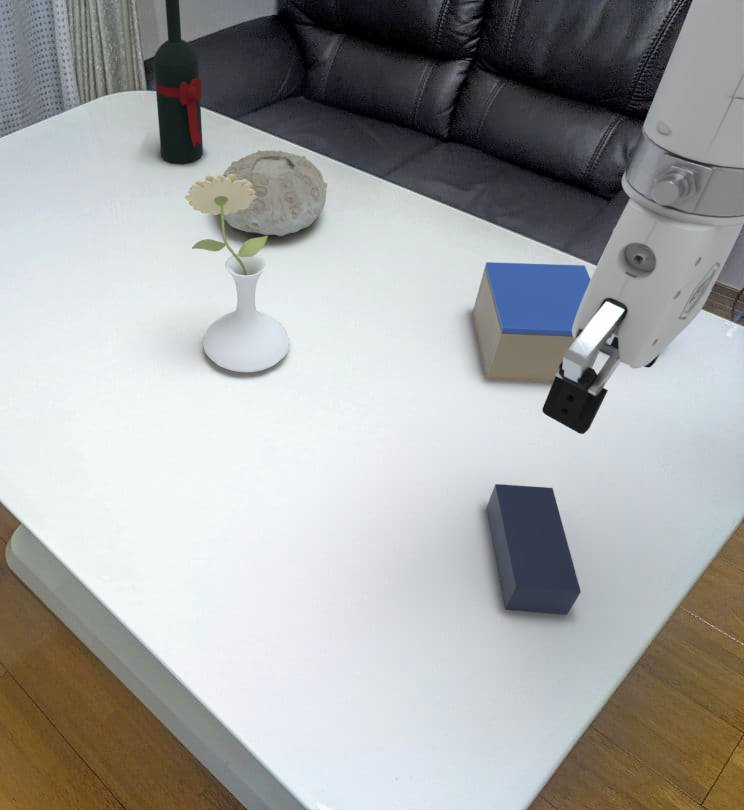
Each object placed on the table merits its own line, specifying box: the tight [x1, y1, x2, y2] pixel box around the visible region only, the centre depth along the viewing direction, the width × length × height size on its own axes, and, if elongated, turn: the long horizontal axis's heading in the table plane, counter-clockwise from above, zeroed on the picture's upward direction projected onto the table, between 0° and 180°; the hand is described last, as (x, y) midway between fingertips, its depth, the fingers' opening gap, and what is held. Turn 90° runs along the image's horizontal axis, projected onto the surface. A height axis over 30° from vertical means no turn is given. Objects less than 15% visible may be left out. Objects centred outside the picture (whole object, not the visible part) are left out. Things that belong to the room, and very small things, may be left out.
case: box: [485, 483, 582, 616], centre depth 72 cm, size 12×6×4 cm, turn 173°
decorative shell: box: [222, 149, 328, 237], centre depth 117 cm, size 18×18×10 cm
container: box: [471, 268, 600, 384], centre depth 93 cm, size 12×14×8 cm
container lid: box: [484, 261, 612, 338], centre depth 90 cm, size 12×14×1 cm
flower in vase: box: [184, 174, 291, 373], centre depth 89 cm, size 13×11×25 cm
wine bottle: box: [153, 0, 204, 165], centre depth 127 cm, size 8×10×30 cm
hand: (598, 388), depth 53 cm, fingers open, 9 cm apart
